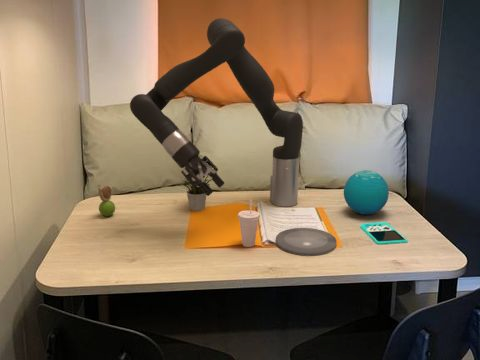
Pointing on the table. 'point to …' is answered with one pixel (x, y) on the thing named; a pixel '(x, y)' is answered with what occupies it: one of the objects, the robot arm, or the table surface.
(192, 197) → the house plant
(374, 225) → the handheld game console
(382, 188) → the decorative orb
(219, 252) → the table surface
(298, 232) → the dish
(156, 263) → the table surface
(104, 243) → the table surface
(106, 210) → the snail figurine
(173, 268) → the table surface
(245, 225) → the smoothie
